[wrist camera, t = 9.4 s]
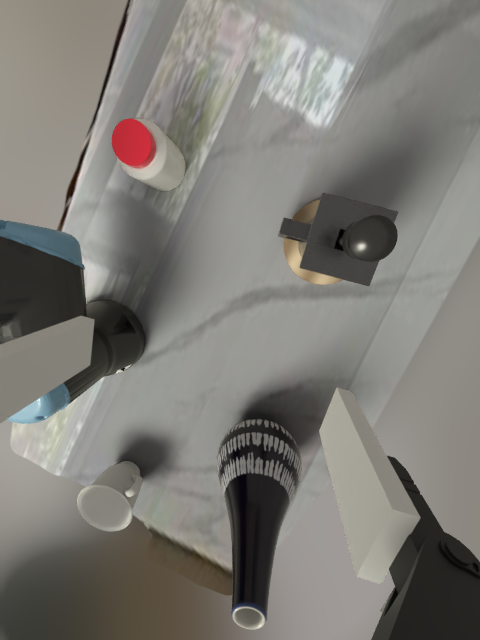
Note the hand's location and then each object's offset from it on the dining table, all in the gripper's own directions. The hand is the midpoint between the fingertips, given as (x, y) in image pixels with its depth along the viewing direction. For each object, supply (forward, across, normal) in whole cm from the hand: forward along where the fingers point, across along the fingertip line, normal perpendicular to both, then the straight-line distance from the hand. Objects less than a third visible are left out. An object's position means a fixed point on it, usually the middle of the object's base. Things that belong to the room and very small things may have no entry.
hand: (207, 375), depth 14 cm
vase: (+37, +10, -31) cm, 49 cm away
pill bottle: (+37, -20, +15) cm, 45 cm away
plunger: (+33, +10, +10) cm, 36 cm away
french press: (+36, +8, +10) cm, 38 cm away
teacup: (+37, -17, -50) cm, 64 cm away
